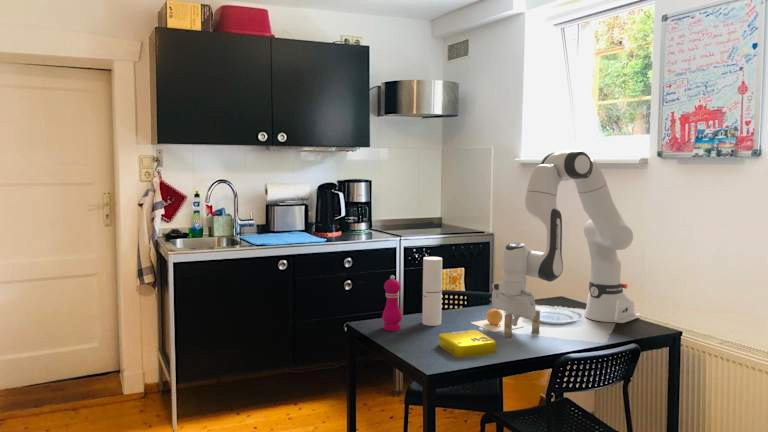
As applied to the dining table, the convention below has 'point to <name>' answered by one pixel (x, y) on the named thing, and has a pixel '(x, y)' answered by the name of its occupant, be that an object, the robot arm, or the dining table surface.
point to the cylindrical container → (432, 291)
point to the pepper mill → (392, 305)
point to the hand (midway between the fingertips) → (512, 325)
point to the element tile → (467, 343)
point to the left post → (508, 326)
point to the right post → (536, 322)
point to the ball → (494, 316)
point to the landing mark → (491, 327)
